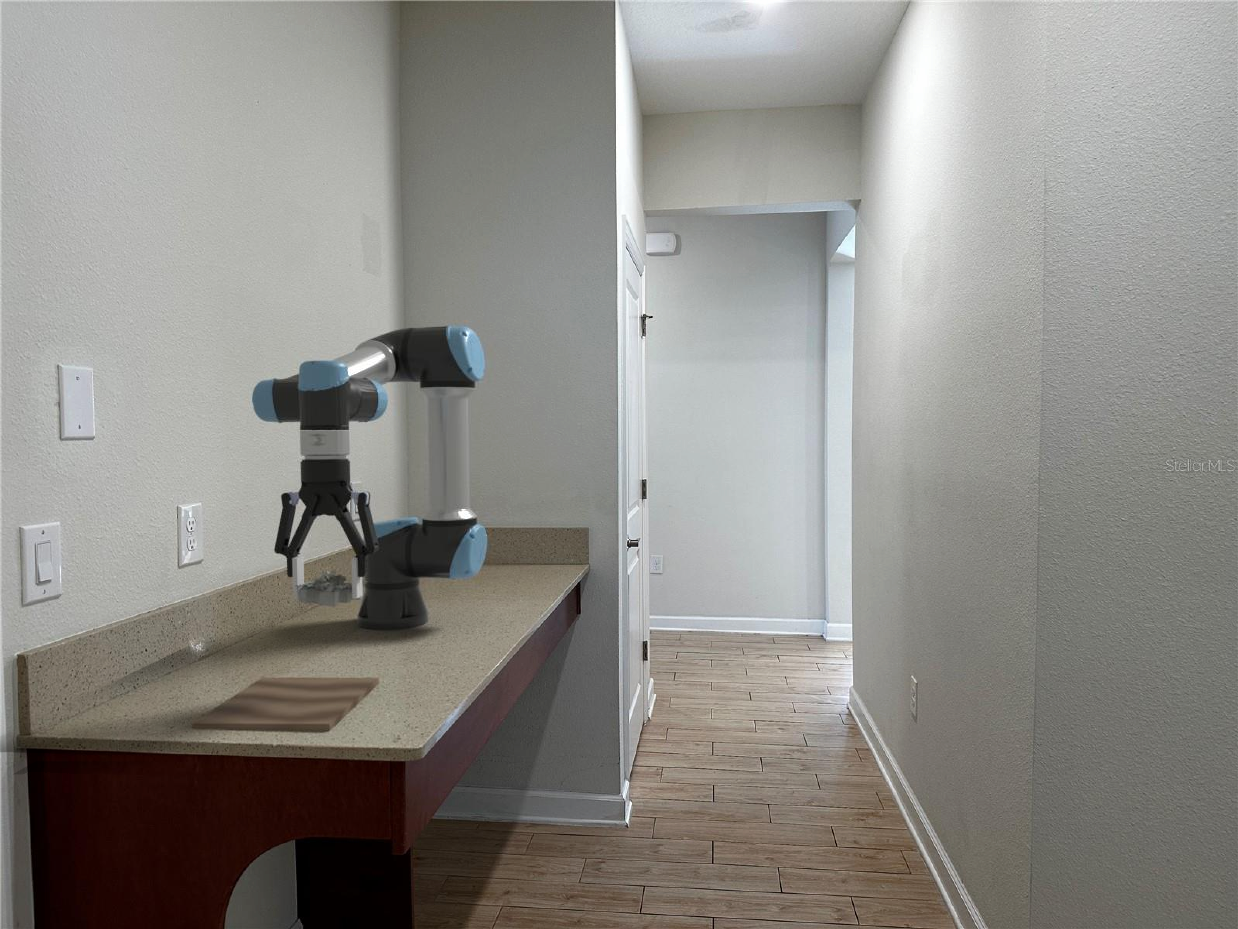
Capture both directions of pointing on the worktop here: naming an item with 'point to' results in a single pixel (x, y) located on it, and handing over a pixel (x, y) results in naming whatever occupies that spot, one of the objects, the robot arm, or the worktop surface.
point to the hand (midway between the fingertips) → (328, 597)
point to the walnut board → (289, 704)
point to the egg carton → (327, 590)
